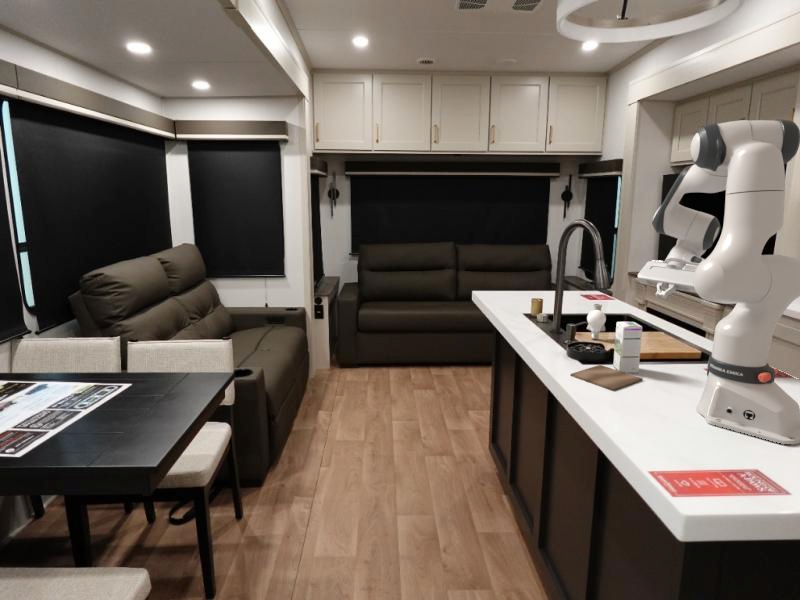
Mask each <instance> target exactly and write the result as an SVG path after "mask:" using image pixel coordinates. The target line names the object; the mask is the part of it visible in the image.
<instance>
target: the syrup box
mask: <svg viewBox="0 0 800 600" xmlns="http://www.w3.org/2000/svg"><path fill="white" fill-rule="evenodd" d="M615 325H616V327H615V337H614V338H615V339H614V349H613V350H614V351H613V362H612V367H613V369H615V370H618V371H621V372H624V373H627V374H638V373H639V369H640V358H641V346H642V345H641V344H642V335H643V326H642V325H640V324H639V323H637V322H635V321H625V320H624V321H616V324H615Z"/></svg>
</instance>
